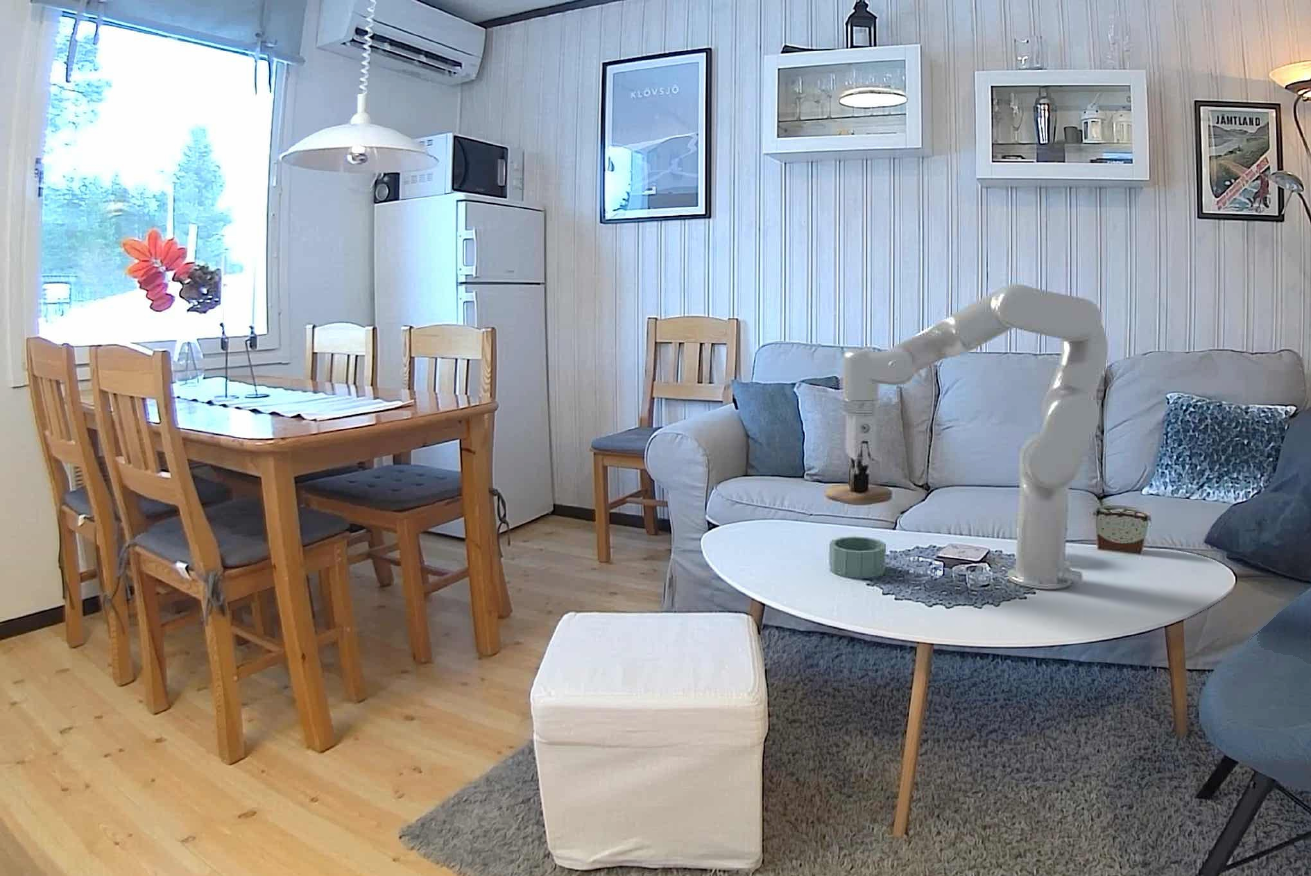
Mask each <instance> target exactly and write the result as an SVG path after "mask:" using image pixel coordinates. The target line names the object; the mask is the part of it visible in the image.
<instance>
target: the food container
mask: <svg viewBox="0 0 1311 876" xmlns="http://www.w3.org/2000/svg"><path fill="white" fill-rule="evenodd" d="M1094 516H1095V532H1096V533H1095V534H1096V549H1097V550H1098V551H1103V552H1111V553H1119V554H1127V555H1132V556H1133V555H1134V556H1143V552H1144V546H1145V540H1146V536H1147V530H1148V526H1149V522H1150V524H1152V516H1151V513H1150V512H1149V511H1148V510H1146V509H1142V508H1141V507H1140V508H1139V507H1135V506H1128V505H1119V504H1118V505H1114V504H1113V505H1112V504H1109V505H1108V504H1107V505H1100V506H1096V507H1095V509H1094V510H1093V514H1092V517H1094Z"/></svg>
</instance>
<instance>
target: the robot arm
mask: <svg viewBox="0 0 1311 876" xmlns="http://www.w3.org/2000/svg"><path fill="white" fill-rule="evenodd" d="M1102 319H1103V317H1102V312H1101V310H1100V308H1099V306H1098V305H1097V304H1096V303H1095V302H1093V301H1091V300H1090V299H1087V298H1084V297H1079V296H1074V295H1069V294H1063V293H1058V292H1054V291H1048V290H1044V289H1039V288H1035V287H1032V286H1028V285H1025V284H1019V283H1018V284H1015V283H1013V284H1008V285H1006V286H1003V287H1001V288H999V289H997V290H996V291H993V292H991V293H990V294H988V295H985V296H984V297H982V298H981V299H979V300H977V301H975V302H973V303H972V304H971V303H970V304H969V305H968V306H966V307H963V308H962V309H960V310H958V311H957V312H954V313H952V314H951V315H949V316H947V317H945V318H944V319H941V320H939V321H938V322H936V323H935V324H934V325H931V326H930V327H927V328H926V329H924V330H922V331H920V332H919V333H917V334H915V335H912V336H911V337H909V338H907V339H905V340H903V341H902V342H899V343H898V344H896V345H894V346H892V347H890V348H889V349H887V350H886V351H882V352H880V351H879V352H877V351H875V350H873V349H872V350H871V349H851V350H848V351H846V352H845V353H844V354H843V360H842V362H843V363H842V364H843V367H842V411H841V412H842V414H843V415H845V416H846V420H845V421H846V423H845V424H846V425H845V452H846V455H848V456H849V470H848V471H849V472H848V484H849V487H850V469H852V468H855V474H853V491H854V492H868V484H869V478H870V477H869V476H870V471H869V469H870V460H871V461H875V460H877V455H878V454H877V427H876V426H877V424H876V417H875V416H876V415H878V413H879V384H881V385H888V386H895V387H897V386H904V385H906V384H909V383H910V382H911V381H912V380H913V378H914V377H915V375H916V373H918V372H920V371H922V370H924V369H926V368H928V367H930V366H931V365H933V364H935V363H938V362H940V361H943V360H944V359H947V358H950V357H951V358H952V357H955V356H960V355H961V356H962V355H964V354H966V353H968V352H971V351H973V350H975V349H977V348H979V347H981V346H982V345H984V344H986V343H989V342H990V341H992V340H994V339H996V338H997V337H1000V336H1002V335H1004V334H1005V333H1007V332H1009V331H1011V330H1013V329H1017V330H1021V331H1025V332H1027V333H1029V332H1030V333H1033V334H1038V335H1040V336H1041V335H1042V336H1047V337H1052V338H1056V339H1059V340H1060V345H1061V351H1060V352H1061V353H1060V357H1059V360H1058V361H1059V362H1058V364H1057V367H1056V369H1055V372H1054V375H1053V377H1052V380H1051V382H1050V385H1049V388H1048V390H1047V393H1046V394H1045V397H1044V398H1043V401H1042V403H1041V408H1040V409H1041V411H1040V412H1041V416H1042V418H1043V424H1042V427H1041V429H1040V430H1039V433H1038V434H1034V435H1032V436H1030V437H1029V438H1028V439H1027V440H1026V441H1025V442H1024V443H1023V444H1022V447H1021V450H1020V454H1019V465H1018V467H1019V497H1018V498H1019V501H1018V515H1017V522H1018V534H1017V533H1016V538H1017V539H1016V540H1017V541H1016V557H1015V559H1016V560H1015V567H1013V568H1010V569H1009V570H1008V571H1007V578H1008V580H1009V581H1011V582H1012V583H1014V584H1017V585H1019V586H1022V587H1026V588H1029V589H1030V588H1031V589H1037V590H1038V589H1039V590H1040V589H1041V590H1060V589H1065V588H1068V587H1070V586H1071V585H1072V583H1077V584H1081V583H1082V582H1083V574H1082V573H1083V572H1082V571H1080V570H1074V569H1071V568H1070V563H1071V562H1069V561H1066V546H1067V544H1066V543H1067V532H1068V526H1067V525H1068V513H1069V495H1070V493H1069V492H1070V488H1069V484H1071V483H1072V482H1073V480H1075V478H1076V477H1077V475H1078V473H1079V472H1080V470H1081V468H1082V465H1083V462H1084V460H1085V457H1086V455H1087V453H1088V450H1089V448H1090V446H1091V444H1092V441H1093V438H1094V436H1095V433H1096V431H1097V428H1098V425H1099V424H1098V423H1099V419H1100V409H1099V406H1098V404H1097V402H1096V400H1095V399H1094V398H1095V397H1096V392H1097V391H1098V390H1097V389H1098V387H1099V385H1100V382H1101V378H1102V376H1103V373H1104V370H1105V367H1106V363H1107V359H1108V352H1109V350H1108V349H1109V348H1108V347H1109V346H1108V338H1107V335H1106V332H1105V328H1104V327H1103V324H1102ZM869 459H870V460H869ZM1066 531H1067V532H1066Z"/></svg>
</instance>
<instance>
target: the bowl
mask: <svg viewBox="0 0 1311 876" xmlns="http://www.w3.org/2000/svg"><path fill="white" fill-rule="evenodd" d="M828 553H829V554H828V555H829V557H828V558H829V559H828V560H829V561H828V562H829V563H828V564H829V565H828V566H829V571H830V572H831V573H832V574H834V575H836V576H839V577H843V578H846V579H847V578H848V579H859V580H863V579H864V580H865V579H874V578H875V579H876V578H879V577H882V576H883V575H885V572H886V566H887V565H886V563H887V559H886V558H887V557H886V556H887V544H886V543H885V542H883V541H881V540H880V539H876V538H872V537H868V536H867V537H865V536H844V537H843V536H841V537H838V538H835V539H832V540H831V541H830V542H829V551H828Z"/></svg>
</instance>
